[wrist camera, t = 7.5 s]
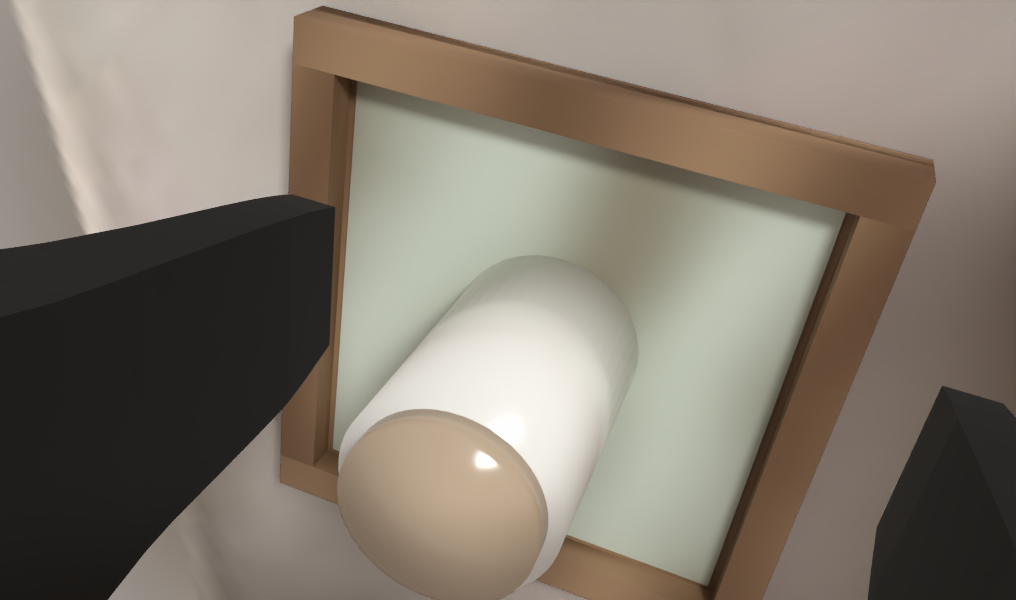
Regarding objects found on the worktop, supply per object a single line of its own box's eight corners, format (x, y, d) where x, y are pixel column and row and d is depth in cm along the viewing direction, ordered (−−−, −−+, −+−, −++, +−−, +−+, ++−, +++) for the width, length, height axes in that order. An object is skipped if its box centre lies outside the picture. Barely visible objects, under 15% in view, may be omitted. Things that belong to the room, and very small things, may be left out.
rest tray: (932, 160, 18) (935, 181, 17) (744, 621, 24) (738, 656, 23) (322, 6, 21) (293, 16, 20) (302, 457, 27) (279, 482, 26)
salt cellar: (648, 274, 20) (563, 447, 15) (628, 439, 22) (547, 645, 17) (459, 239, 22) (315, 387, 16) (456, 399, 24) (328, 578, 18)
